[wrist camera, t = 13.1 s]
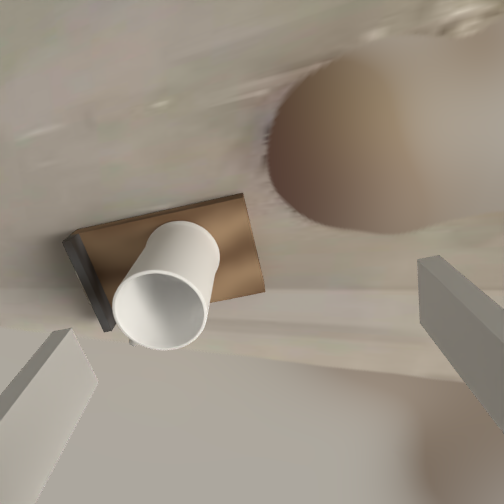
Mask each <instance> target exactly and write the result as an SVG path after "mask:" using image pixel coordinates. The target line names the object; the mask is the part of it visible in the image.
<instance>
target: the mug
mask: <svg viewBox="0 0 504 504" xmlns="http://www.w3.org/2000/svg"><path fill="white" fill-rule="evenodd" d="M219 262H220V253H219V248H218V245H217V243H216V241H215V239H214V238H213V237H212V235H211V234H210V233H209V232H208V231H207V230H205V229H204V228H203V227H201V226H199V225H197V224H195V223H192V222H188V221H172V222H168V223H166V224H163V225H161V226H160V227H158V228H157V229H156V230H155V231H154V232H153V233H152V234H151V235H150V237H149V238H148V241H147V243H146V247H145V248H144V250H143V251H142V253H141V254H140V256H139V257H138V259H137V260H136V262H135V263H134V264H133V266H132V267H131V269H130V270H129V272H128V273H127V275H126V276H125V278H124V279H123V281H122V282H121V284H120V285H119V287H118V288H117V290H116V292H115V294H114V297H113V302H112V311H113V316H114V319H115V321H116V323H117V325H118V327H119V328H120V330H121V331H122V332H123V333H124V334H125V335H126V336H127V337H128V338H129V343H130V344H131V345H132V346H137V345H138V344H139V345H141V346H144V347H146V348H150V349H155V350H173V349H178V348H181V347H184V346H186V345H188V344H190V343H191V342H193V341H194V340H195V339H196V338H197V337H198V336H199V335H200V334H201V332H202V331H203V329H204V327H205V324H206V320H207V315H208V310H209V304H210V299H211V294H212V288H213V283H214V277H215V273H216V271H217V269H218V266H219Z"/></svg>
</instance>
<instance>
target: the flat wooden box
mask: <svg viewBox="0 0 504 504" xmlns="http://www.w3.org/2000/svg"><path fill="white" fill-rule="evenodd" d="M172 221H188V222H192V223H195V224H197V225H199V226H201V227H203V228H204V229H205V230H207V231H208V232H209V233H210V234H211V235H212V237H213V238H214V239H215V241H216V243H217V245H218V248H219V253H220V262H219V266H218V269H217V271H216V273H215V277H214V283H213V288H212V294H211V299H210V303H212V302H217V301H222V300H227V299H232V298H237V297H242V296H248V295H253V294H258V293H263V292H265V284H264V280H263V276H262V271H261V267H260V263H259V259H258V254H257V250H256V246H255V242H254V237H253V233H252V229H251V225H250V221H249V216H248V212H247V208H246V204H245V199H244V195H243V193H241V194H236V195H232V196H227V197H223V198H218V199H213V200H209V201H204V202H200V203H195V204H191V205H186V206H182V207H177V208H173V209H168V210H164V211H159V212H154V213H150V214H145V215H141V216H136V217H132V218H127V219H123V220H118V221H114V222H109V223H105V224H100V225H95V226H91V227H86V228H82V229H77V230H76V231H75V232H74V233H72V234H71V235H70V236H69V237H68V238H66V239H65V240H64V241H63V242H62V243H63V245H64V247H65V250H66V252H67V254H68V256H69V258H70V260H71V262H72V265H73V267H74V269H75V271H76V272H75V273H76V275H77V277H78V280H79V282H80V284H81V286H82V288H83V290H84V292H85V295H86V297H87V299H88V301H89V303H90V305H92V307H93V310H94V312H95V314H96V316H97V318H98V320H99V322H100V325H101V327H102V329H103V331H104V332H108V331H112V330H113V328H114V326H115V325H116V321H115V319H114V316H113V311H112V302H113V297H114V294H115V292H116V290H117V288H118V287H119V285H120V284H121V282H122V281H123V279H124V278H125V276H126V275H127V273H128V272H129V270H130V269H131V267H132V266H133V264H134V263H135V262H136V260H137V259H138V257H139V256H140V254H141V253H142V251H143V250H144V248H145V247H146V243H147V241H148V238H149V237H150V235H151V234H152V233H153V232H154V231H155V230H156V229H157V228H158V227H160V226H161V225H163V224H166V223H168V222H172Z"/></svg>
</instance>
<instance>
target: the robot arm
mask: <svg viewBox="0 0 504 504" xmlns="http://www.w3.org/2000/svg"><path fill="white" fill-rule="evenodd" d="M417 265H418V289H419V313H420V324H421V325H422V326H423V328H424V329H425V330H426V332H427V333H428V334H429V336H430V337H431V338H432V340H433V341H434V342H435V344H436V345H437V346H438V347H439V349H440V350H441V351H442V353H443V354H444V355H445V357H446V358H447V359H448V361H449V362H450V363H451V365H452V366H453V367H454V369H455V370H456V371H457V373H458V374H459V375H460V377H461V378H462V379H463V381H464V382H465V383H466V385H467V386H468V387H469V389H470V390H471V391H472V393H473V394H474V395H475V397H476V398H477V399H478V400H479V402H480V403H481V404H482V406H483V407H484V408H485V410H486V411H487V412H488V414H489V415H490V416H491V418H492V419H493V420H494V422H495V423H496V424H497V426H498V427H499V428H500V430H501V431H502V432H503V434H504V309H503V308H502V307H501V306H499V305H498V304H497V303H496V302H495V301H493V300H492V299H491V298H490V297H489V296H487V295H486V294H485V293H484V292H483V291H481V290H480V289H479V288H478V287H477V286H475V285H474V284H473V283H472V282H471V281H469V280H468V279H467V278H466V277H465V276H463V275H462V274H461V273H460V272H459V271H457V270H456V269H455V268H454V267H453V266H452V265H450V264H449V263H448V262H447V261H446V260H444V259H443V258H442V257H441V256H440V255H437V256H432V257H427V258H422V259H417ZM98 383H99V381H98V379H97V377H96V375H95V373H94V371H93V369H92V367H91V365H90V363H89V361H88V360H87V357H86V355H85V353H84V351H83V349H82V348H81V345H80V343H79V342H78V339H77V338H76V336H75V334H74V332H73V330H72V328H68V329H63V330H58V331H53V332H52V333H51V335H50V336H49V337H48V338H47V339H46V341H45V342H44V343H43V344H42V346H41V347H40V348H39V349H38V350H37V351H36V353H35V354H34V355H33V357H32V358H31V359H30V360H29V361H28V362H27V364H26V365H25V366H24V367H23V368H22V370H21V371H20V372H19V373H18V374H17V376H16V377H15V378H14V379H13V380H12V382H11V383H10V384H9V385H8V387H7V388H6V389H5V390H4V391H3V392H2V394H1V395H0V504H35V503H36V502H37V500H38V498H39V496H40V494H41V492H42V490H43V488H44V486H45V484H46V482H47V480H48V479H49V477H50V475H51V473H52V471H53V469H54V467H55V465H56V463H57V461H58V459H59V458H60V456H61V454H62V452H63V450H64V448H65V446H66V444H67V442H68V440H69V438H70V436H71V434H72V433H73V431H74V429H75V427H76V425H77V423H78V421H79V419H80V417H81V415H82V414H83V412H84V410H85V408H86V406H87V404H88V402H89V400H90V398H91V396H92V394H93V392H94V391H95V389H96V387H97V385H98Z"/></svg>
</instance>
